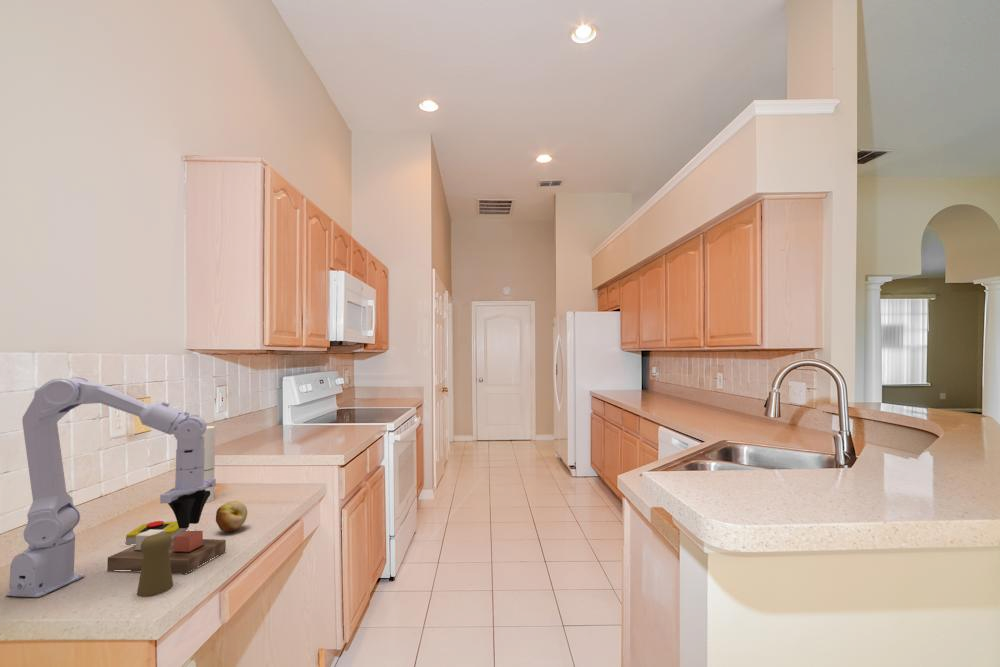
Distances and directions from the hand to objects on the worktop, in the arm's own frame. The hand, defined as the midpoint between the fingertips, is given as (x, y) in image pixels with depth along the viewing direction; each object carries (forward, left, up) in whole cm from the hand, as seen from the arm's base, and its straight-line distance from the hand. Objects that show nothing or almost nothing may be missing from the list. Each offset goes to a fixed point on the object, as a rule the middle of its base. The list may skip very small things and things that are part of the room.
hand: (188, 525), depth 110 cm
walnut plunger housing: (0, +5, -8) cm, 10 cm away
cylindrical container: (+46, +35, -9) cm, 58 cm away
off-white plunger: (0, +10, -5) cm, 11 cm away
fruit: (+20, +4, -9) cm, 22 cm away
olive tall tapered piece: (-13, -4, -9) cm, 16 cm away
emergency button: (+14, +21, -9) cm, 27 cm away
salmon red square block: (0, 0, -5) cm, 5 cm away
